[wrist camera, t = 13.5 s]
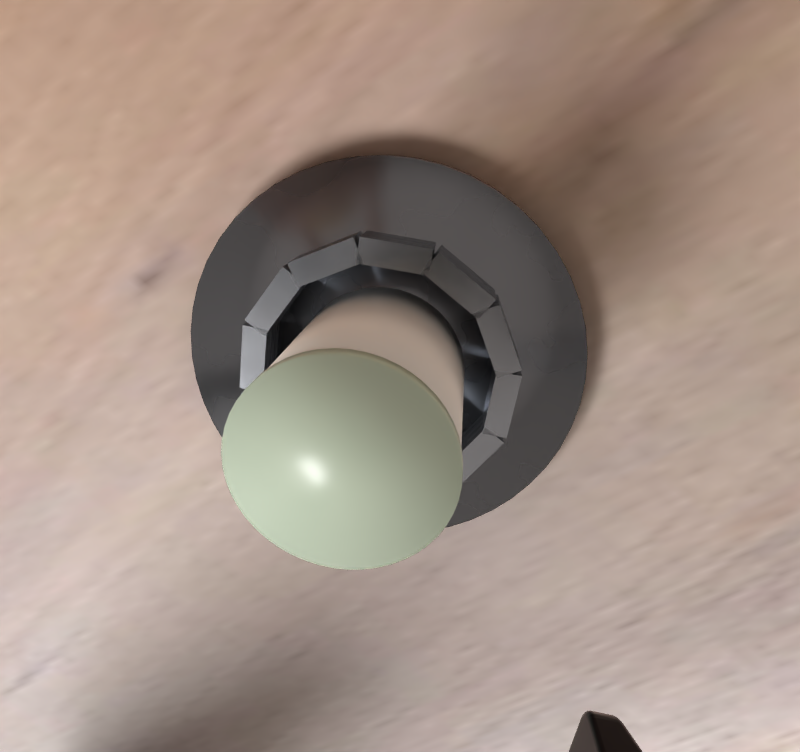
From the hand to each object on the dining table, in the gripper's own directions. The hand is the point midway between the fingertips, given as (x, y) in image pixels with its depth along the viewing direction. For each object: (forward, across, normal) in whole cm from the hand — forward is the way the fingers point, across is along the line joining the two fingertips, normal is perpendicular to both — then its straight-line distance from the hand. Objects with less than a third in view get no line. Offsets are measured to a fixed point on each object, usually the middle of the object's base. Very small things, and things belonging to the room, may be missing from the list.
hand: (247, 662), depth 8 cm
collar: (+11, 0, 0) cm, 11 cm away
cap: (+11, 0, 0) cm, 11 cm away
